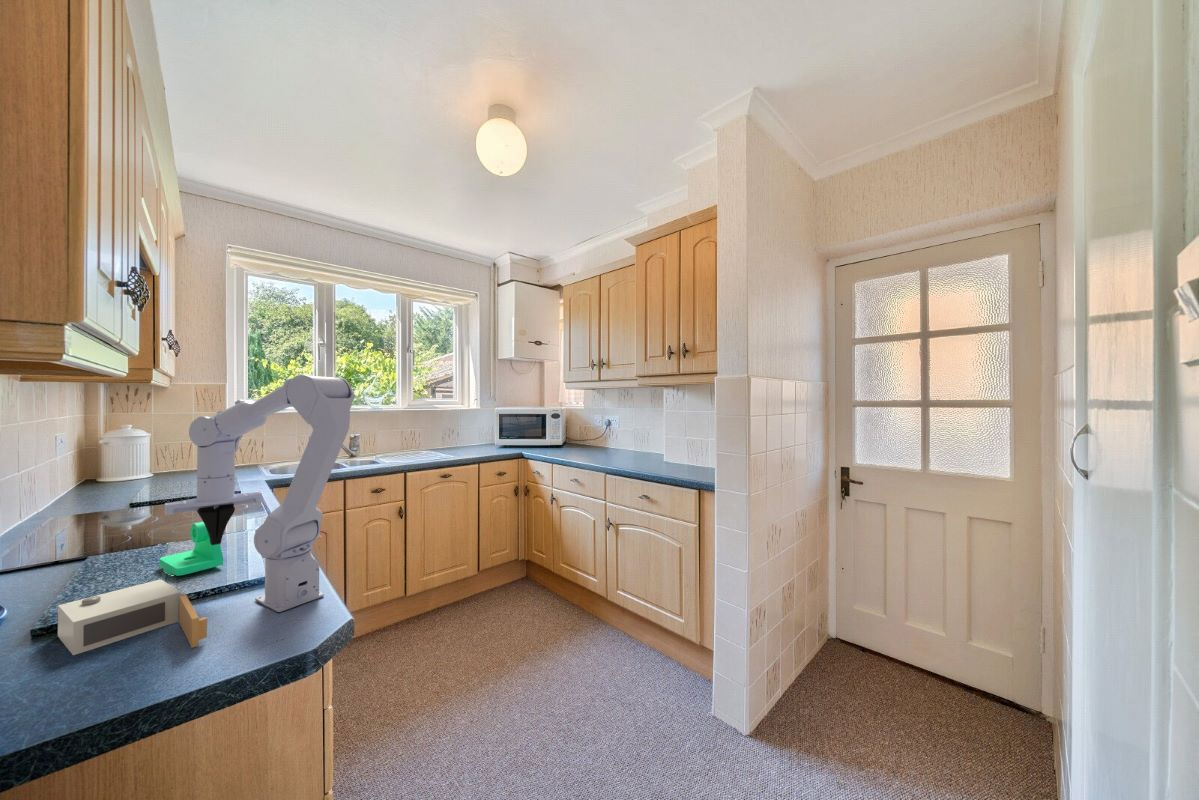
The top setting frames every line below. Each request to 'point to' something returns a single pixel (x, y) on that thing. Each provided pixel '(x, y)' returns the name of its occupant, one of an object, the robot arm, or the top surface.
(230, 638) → the top surface
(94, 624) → the housing
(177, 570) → the camera mount
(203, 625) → the door
